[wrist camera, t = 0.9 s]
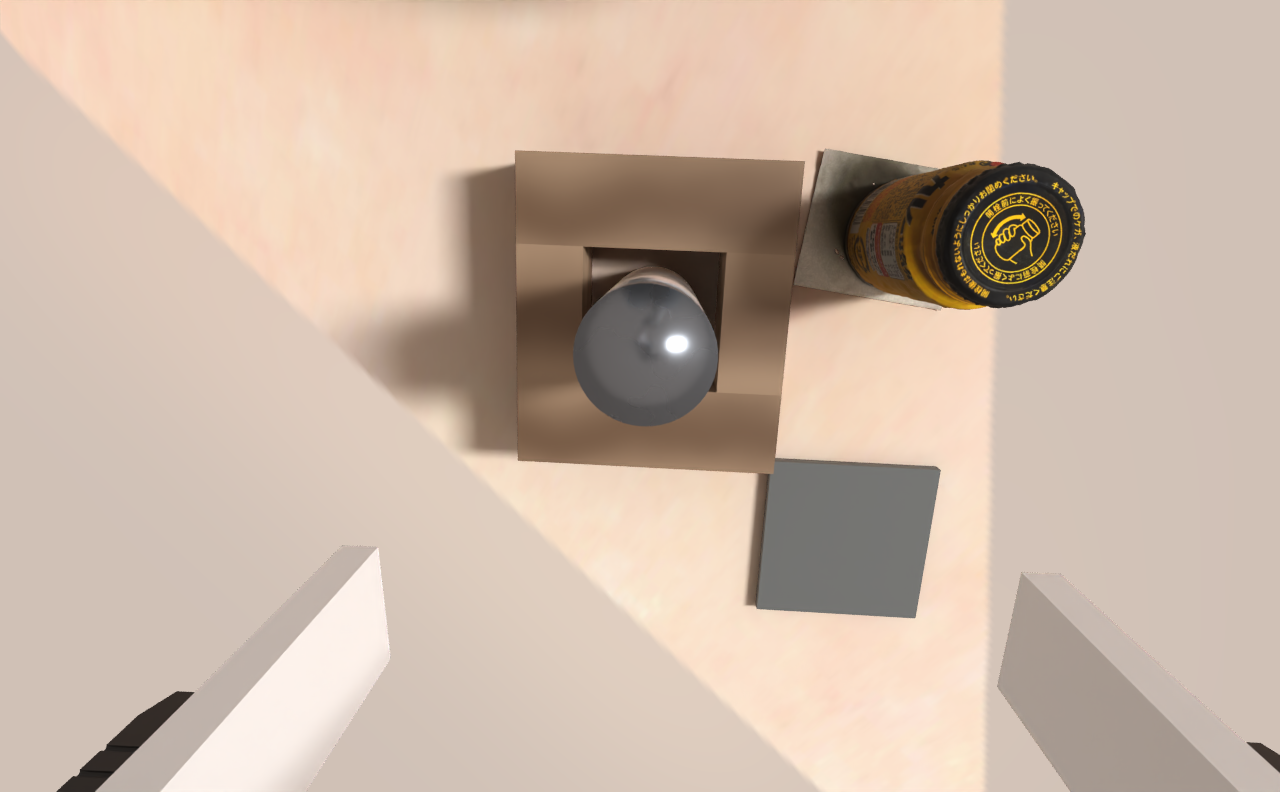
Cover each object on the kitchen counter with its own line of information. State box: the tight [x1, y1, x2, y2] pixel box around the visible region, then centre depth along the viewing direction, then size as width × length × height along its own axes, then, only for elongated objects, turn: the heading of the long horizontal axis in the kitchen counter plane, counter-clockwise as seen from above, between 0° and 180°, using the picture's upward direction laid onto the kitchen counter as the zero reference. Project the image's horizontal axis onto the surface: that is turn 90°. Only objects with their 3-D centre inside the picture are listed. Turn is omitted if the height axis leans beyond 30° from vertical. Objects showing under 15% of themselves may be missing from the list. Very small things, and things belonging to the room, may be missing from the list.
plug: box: [573, 267, 718, 426], centre depth 29 cm, size 5×5×14 cm
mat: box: [756, 458, 941, 618], centre depth 38 cm, size 10×10×1 cm
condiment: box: [793, 149, 1086, 310], centre depth 28 cm, size 7×8×12 cm
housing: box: [515, 150, 805, 474], centre depth 34 cm, size 16×14×4 cm
